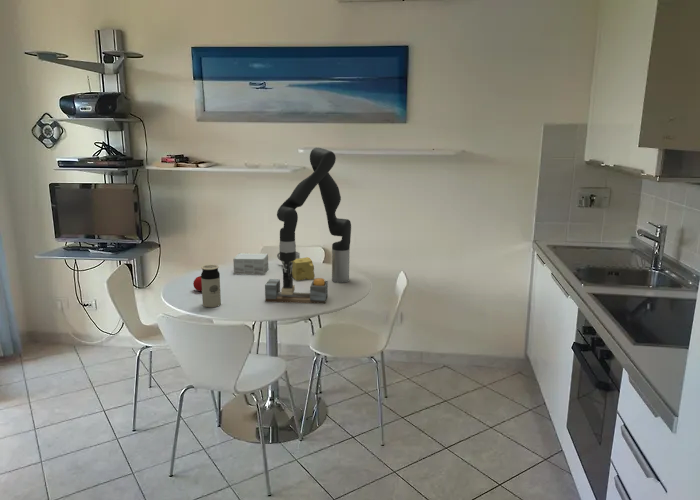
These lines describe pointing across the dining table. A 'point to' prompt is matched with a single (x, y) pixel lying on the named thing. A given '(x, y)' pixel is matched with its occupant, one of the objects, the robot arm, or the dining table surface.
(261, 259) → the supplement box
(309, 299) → the stand
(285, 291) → the carriage
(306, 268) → the cheese
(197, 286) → the tomato
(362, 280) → the dining table surface
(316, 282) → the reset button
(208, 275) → the travel mug
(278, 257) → the teacup
